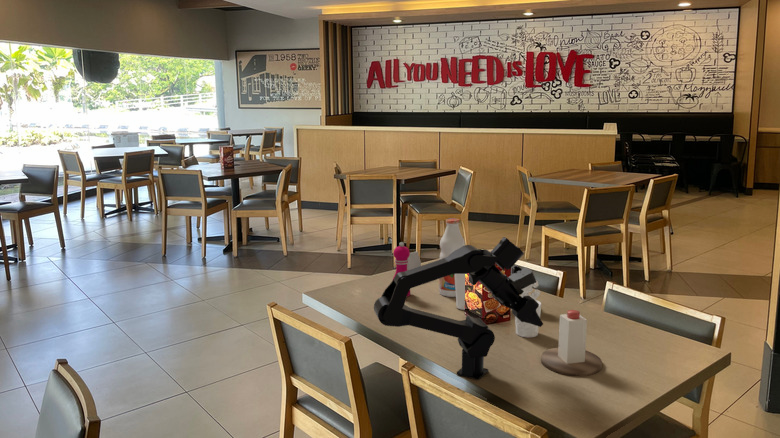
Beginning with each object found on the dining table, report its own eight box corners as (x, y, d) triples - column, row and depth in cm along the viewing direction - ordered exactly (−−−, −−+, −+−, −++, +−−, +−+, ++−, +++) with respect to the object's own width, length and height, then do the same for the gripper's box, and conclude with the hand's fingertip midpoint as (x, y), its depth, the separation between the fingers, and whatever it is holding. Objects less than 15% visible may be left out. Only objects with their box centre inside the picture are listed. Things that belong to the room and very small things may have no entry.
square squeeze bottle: (584, 361, 168) (587, 314, 165) (566, 363, 167) (569, 315, 164) (575, 354, 173) (577, 308, 170) (558, 355, 172) (560, 309, 169)
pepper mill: (389, 296, 228) (389, 243, 224) (395, 291, 234) (394, 239, 230) (408, 298, 226) (408, 244, 222) (413, 292, 232) (413, 240, 228)
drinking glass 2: (473, 311, 211) (473, 269, 208) (453, 310, 213) (453, 268, 210) (474, 305, 218) (475, 263, 215) (455, 304, 219) (455, 262, 216)
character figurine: (540, 313, 209) (542, 279, 207) (512, 313, 209) (513, 279, 207) (535, 304, 218) (536, 271, 215) (508, 304, 218) (509, 271, 216)
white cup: (521, 327, 197) (522, 296, 195) (544, 332, 192) (545, 301, 190) (509, 334, 191) (510, 303, 189) (532, 340, 186) (533, 308, 184)
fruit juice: (457, 288, 237) (457, 216, 231) (469, 295, 228) (470, 220, 223) (434, 291, 233) (435, 218, 228) (446, 298, 225) (447, 222, 219)
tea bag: (420, 275, 254) (420, 252, 252) (409, 279, 249) (409, 255, 247) (414, 274, 256) (414, 250, 254) (402, 277, 252) (402, 253, 250)
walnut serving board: (592, 381, 160) (592, 376, 159) (532, 366, 168) (532, 362, 168) (608, 359, 173) (608, 354, 172) (552, 346, 181) (552, 343, 181)
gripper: (532, 269, 152) (572, 308, 157) (503, 250, 170) (539, 286, 174) (501, 302, 152) (541, 340, 157) (475, 280, 170) (512, 315, 174)
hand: (534, 319), depth 165 cm, fingers open, 9 cm apart
